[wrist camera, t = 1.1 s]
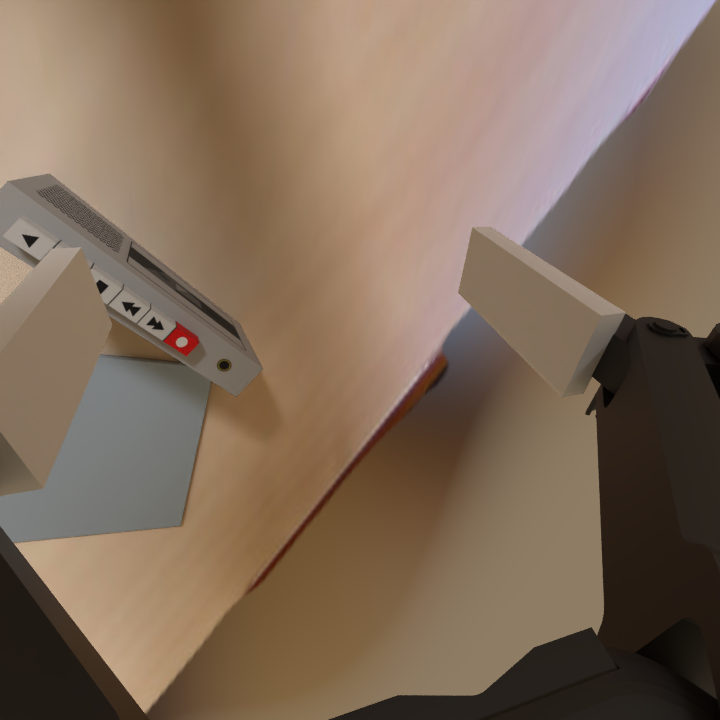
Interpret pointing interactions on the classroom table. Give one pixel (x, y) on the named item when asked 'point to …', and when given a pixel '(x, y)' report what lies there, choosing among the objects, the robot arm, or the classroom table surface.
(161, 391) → the rubber mat
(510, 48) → the classroom table surface
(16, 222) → the cassette player
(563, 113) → the classroom table surface
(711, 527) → the robot arm
